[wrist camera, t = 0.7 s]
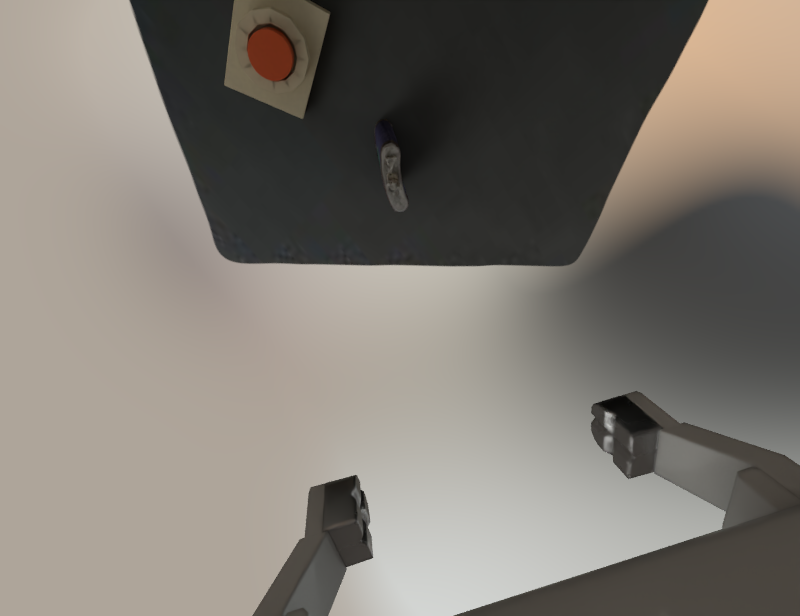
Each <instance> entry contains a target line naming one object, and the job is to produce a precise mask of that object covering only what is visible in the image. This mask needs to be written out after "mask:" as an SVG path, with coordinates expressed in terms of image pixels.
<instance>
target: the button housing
mask: <svg viewBox="0 0 800 616" xmlns="http://www.w3.org/2000/svg"><path fill="white" fill-rule="evenodd" d="M329 17H330V11H328V10H326V9H324V8H322V7H321V6H319V5H317V4H315V3H314V2H312V1H310V0H234V6H233V14H232V23H231V31H230V40H229V48H228V57H227V65H226V74H225V82H224V85H225V86H227V87H230V88H232V89H234V90H236V91H239V92H241V93H243V94H246V95H248V96H250V97H253V98H255V99H257V100H260V101H262V102H264V103H267V104H269V105H271V106H273V107H276V108H278V109H280V110H283V111H285V112H287V113H290V114H292V115H294V116H297V117H299V118H301V119H303V117H304V114H305V111H306V107H307V103H308V99H309V95H310V91H311V87H312V83H313V79H314V75H315V71H316V68H317V64H318V60H319V56H320V52H321V48H322V44H323V40H324V36H325V32H326V29H327V25H328V21H329ZM264 27H272V28H275V29H277V30H279V31H280V32H282V33H283V34H284V35H285V36H286V37H287V39H288V40H289V42H290V43H291V46H292V48H293V52H294V64H293V67H292V69H291V71H290V72H289V74H288V75H287V76H286V77H285V78H284V79H282V80H279V81H271V80H268V79H265V78H264V77H262V76H261V75H259V74H258V73H257V72H256V71H255V69H254V68H253V66H252V65H251V63H250V60H249V57H248V50H247V48H248V42H249V39H250V37H251V36H252V34H253V33H254V32H256V31H257V30H259V29H261V28H264Z"/></svg>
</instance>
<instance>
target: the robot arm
mask: <svg viewBox="0 0 800 616" xmlns="http://www.w3.org/2000/svg"><path fill="white" fill-rule="evenodd" d="M591 413H592V414H593V415H594V416H595V419H594V420H593V421H592V423H591V430H592V433H593V436H594V439H595V440H596V442H597V444H598V445H599V446H600V447H601V449H602V450H603V451H605V452H607V453H610V454H611V455H613V462H614V463H615V465H616V466H617V467H618V468H619V469H620V470H621V471H622V472H623V473H624V475H625V476H626V477H627V478H628V479H629V478H634V477H637V476H641V475H644V474H648V473H651V472H654V473H655V474H657V475H658V476H660V477H662V478H664V479H666V480H668V481H670V482H672V483H673V484H675V485H677V486H679V487H681V488H683V489H685V490H687V491H688V492H690V493H692V494H694V495H696V496H698V497H700V498H701V499H703V500H705V501H707V502H709V503H711V504H713V505H714V506H716V507H718V508H720V509H722V510H724V511H726V514H725V518H724V521H723V526H722V529H721V530H718V531H715V532H712V533H709V534H706V535H703V536H699V537H696V538H693V539H690V540H687V541H684V542H681V543H678V544H675V545H672V546H668V547H665V548H662V549H659V550H656V551H653V552H650V553H647V554H644V555H640V556H637V557H634V558H632V559H628V560H625V561H622V562H619V563H616V564H612V565H609V566H606V567H603V568H600V569H597V570H594V571H591V572H588V573H585V574H581V575H578V576H575V577H572V578H569V579H566V580H563V581H560V582H557V583H553V584H550V585H547V586H544V587H541V588H538V589H535V590H532V591H529V592H526V593H523V594H520V595H516V596H513V597H510V598H507V599H504V600H501V601H498V602H495V603H492V604H489V605H485V606H482V607H479V608H476V609H473V610H470V611H467V612H464V613H460V614H457V615H454V616H800V465H798V464H797V463H795V462H794V461H792V460H791V459H789V458H788V457H786V456H785V455H782V454H779V453H776V452H773V451H770V450H767V449H764V448H761V447H757V446H755V445H751V444H748V443H745V442H742V441H739V440H736V439H733V438H730V437H727V436H724V435H721V434H718V433H715V432H712V431H709V430H706V429H703V428H700V427H697V426H693V425H690V424H687V423H681V424H680V423H678V422H677V421H676V420H675V419H673V418H672V417H671V416H670V415H668V414H667V413H666V412H665V411H663V410H662V409H661V408H659V407H658V406H657V405H656V404H654V403H653V402H652V401H651V400H649V399H648V398H647V397H646V396H644V395H643V394H642V393H640V392H637V391H635V392H632V393H628V394H625V395H622V396H618V397H615V398H611V399H608V400H605V401H602V402H599V403H595V404H593V406H592V411H591ZM369 523H370V516H369V509H368V503H367V500H366V497H365V494H364V491H362V490H360V481H359V479H358V477H357V475H354V476H350V477H347V478H343V479H339V480H335V481H332V482H328V483H325V484H322V485H318V486H314V487H311V489H310V491H309V496H308V507H307V519H306V530H305V538H302V539H300V540H299V542H298V543H297V545H296V547H295V548H294V550H293V552H292V553H291V555H290V556H289V558H288V559H287V561H286V563H285V564H284V566H283V567H282V569H281V571H280V572H279V574H278V576H277V577H276V579H275V580H274V582H273V584H272V585H271V587H270V589H269V590H268V592H267V593H266V595H265V596H264V598H263V600H262V601H261V603H260V604H259V606H258V608H257V609H256V611H255V613H254V614H253V616H328V614H329V612H330V609H331V607H332V604H333V602H334V599H335V597H336V595H337V592H338V590H339V587H340V585H341V582H342V579H343V577H344V575H345V572H346V567H348V566H351V565H354V564H357V563H360V562H363V561H365V560H369V559H372V558H373V551H372V539H371V534H370V532H369V529H368V525H369Z"/></svg>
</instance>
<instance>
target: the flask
mask: <svg viewBox="0 0 800 616" xmlns="http://www.w3.org/2000/svg"><path fill="white" fill-rule="evenodd" d="M374 134H375V144H376V151H377V156H378V159H379V164H380V170H381V175H382V180H383V185H384V189H385V192H386V195H387V197H388V200H389V202H390V204H391V207H392V208H393V209H394V210H395V211H397V212H403V211H404V210H406V209H407V208H408V205H409V201H408V196H407V194H406V190H405V187H404V183H403V180H402V175H401V168H400V159H401V153H400V148H399V145H398V143H397V140H396V136H395V134H394V131H393V128H392V124H391V123H390V122H389V121H387V119H385V120H383V119H382V120H379V121H378V122H377V123H376V125H375V133H374Z"/></svg>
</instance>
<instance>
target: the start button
mask: <svg viewBox="0 0 800 616" xmlns="http://www.w3.org/2000/svg"><path fill="white" fill-rule="evenodd" d="M247 50H248V57H249V60H250V63H251V65H252V66H253V68H254V69H255V71H256V72H257V73H258V74H259V75H261V76H262V77H264V78H265V79H268V80H271V81H279V80H282V79H284V78H285V77H286V76H287V75H288V74H289V72H290V71H291V69H292V67H293V64H294V52H293V48H292V46H291V43H290V42H289V40H288V39H287V37H286V36H285V35H284V34H283V33H282V32H280V31H279V30H277V29H275V28H272V27H264V28H261V29H259V30H257V31H256V32H254V33H253V34H252V36H251V37H250V39H249V42H248V48H247Z"/></svg>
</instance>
